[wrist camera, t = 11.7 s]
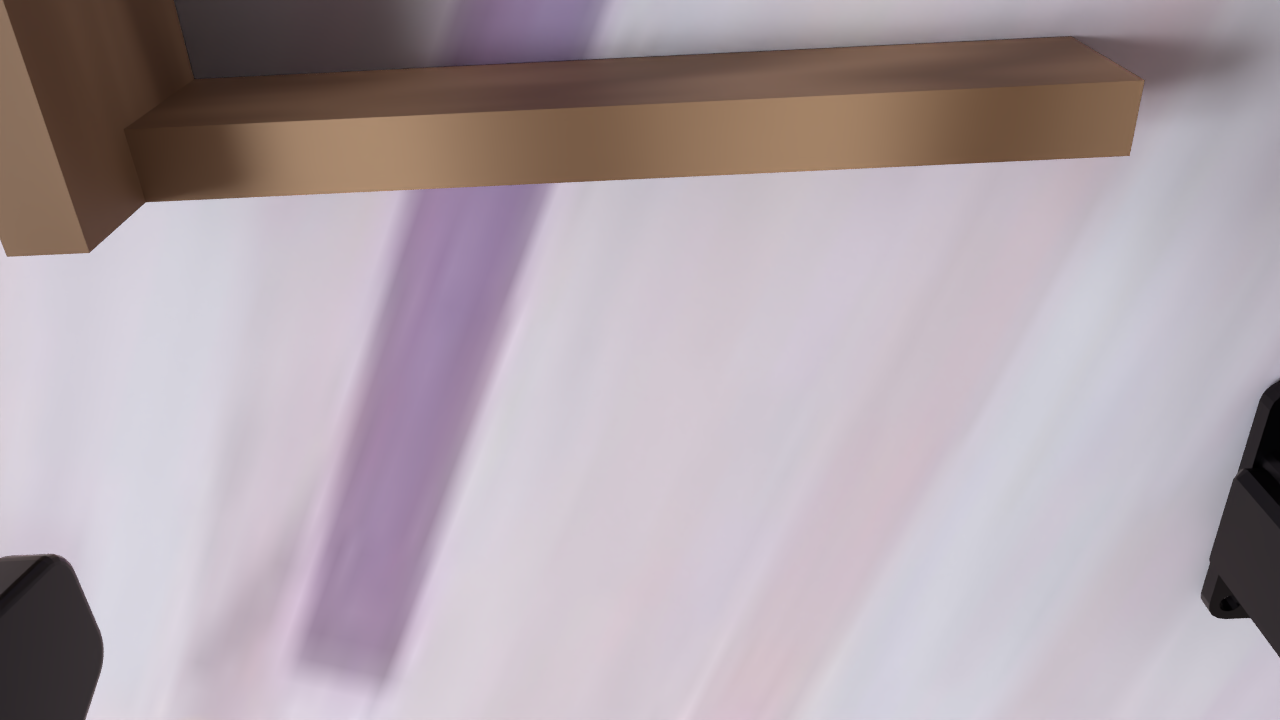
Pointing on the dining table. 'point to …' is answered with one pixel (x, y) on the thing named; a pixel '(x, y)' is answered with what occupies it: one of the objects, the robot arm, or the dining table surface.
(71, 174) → the rack
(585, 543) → the dining table surface
